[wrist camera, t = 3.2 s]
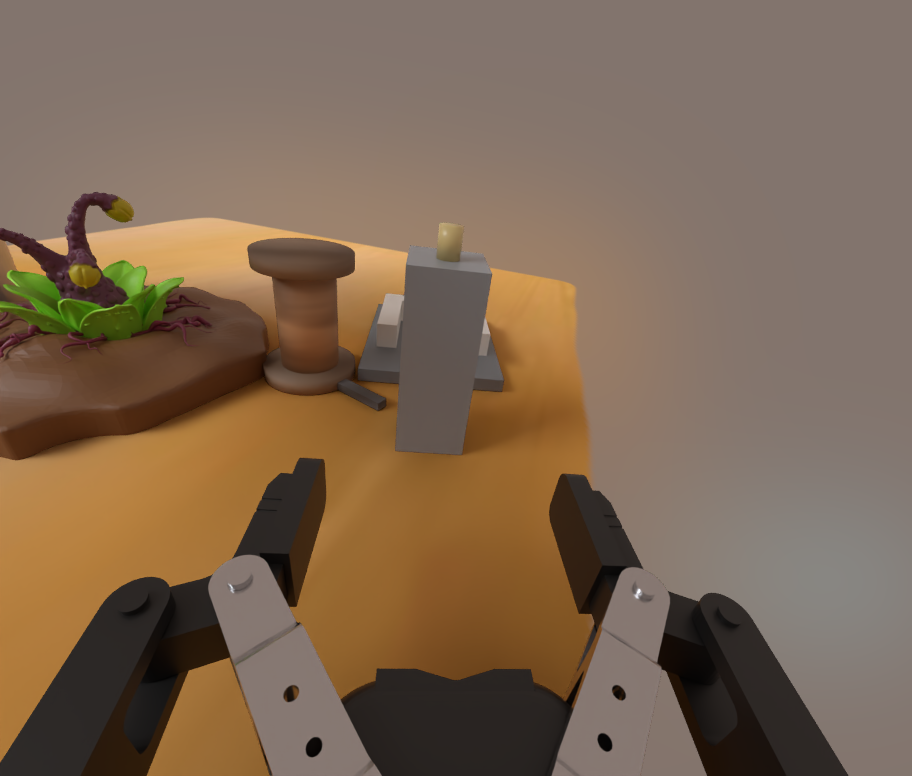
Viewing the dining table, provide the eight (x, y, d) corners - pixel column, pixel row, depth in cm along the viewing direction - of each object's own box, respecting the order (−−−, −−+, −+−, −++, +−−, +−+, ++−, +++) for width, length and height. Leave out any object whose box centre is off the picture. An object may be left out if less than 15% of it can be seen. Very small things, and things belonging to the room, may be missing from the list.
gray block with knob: (461, 454, 25) (498, 238, 18) (395, 450, 24) (408, 227, 18) (458, 416, 28) (487, 222, 22) (399, 412, 28) (412, 213, 21)
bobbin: (256, 360, 31) (239, 237, 27) (339, 348, 34) (336, 238, 30) (289, 431, 24) (273, 284, 20) (387, 408, 28) (393, 277, 23)
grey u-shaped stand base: (501, 391, 32) (509, 357, 30) (357, 380, 30) (357, 343, 29) (482, 323, 44) (487, 296, 42) (378, 312, 42) (379, 284, 41)
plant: (320, 375, 31) (312, 221, 26) (-72, 512, 18) (-276, 246, 12) (204, 298, 41) (179, 174, 36) (-103, 347, 28) (-222, 160, 22)
